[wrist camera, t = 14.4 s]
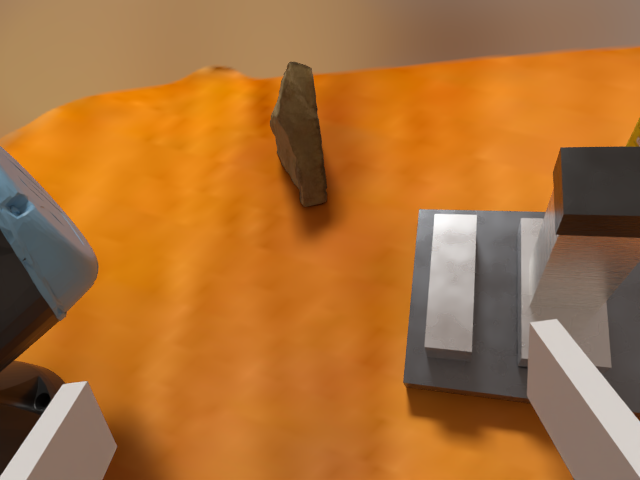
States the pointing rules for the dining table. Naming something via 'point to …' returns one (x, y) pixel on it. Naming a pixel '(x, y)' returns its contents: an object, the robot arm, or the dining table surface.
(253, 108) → the dining table surface
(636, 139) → the supplement box
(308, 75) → the rock
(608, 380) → the base
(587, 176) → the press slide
